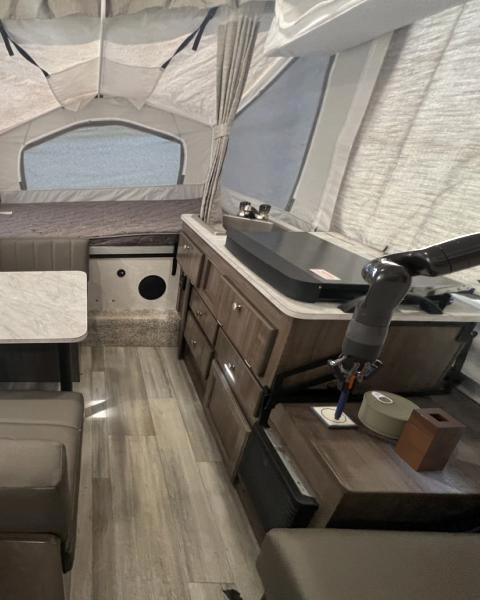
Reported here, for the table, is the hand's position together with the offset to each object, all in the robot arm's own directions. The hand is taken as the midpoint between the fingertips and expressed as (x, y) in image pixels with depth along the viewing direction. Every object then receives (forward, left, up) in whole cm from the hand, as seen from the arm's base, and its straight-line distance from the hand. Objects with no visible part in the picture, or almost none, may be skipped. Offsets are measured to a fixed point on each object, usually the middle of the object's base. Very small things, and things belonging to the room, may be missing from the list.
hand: (346, 390), depth 86 cm
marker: (0, 0, -10) cm, 10 cm away
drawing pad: (0, -1, -11) cm, 11 cm away
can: (-12, -4, -11) cm, 17 cm away
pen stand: (-15, +8, -11) cm, 20 cm away
